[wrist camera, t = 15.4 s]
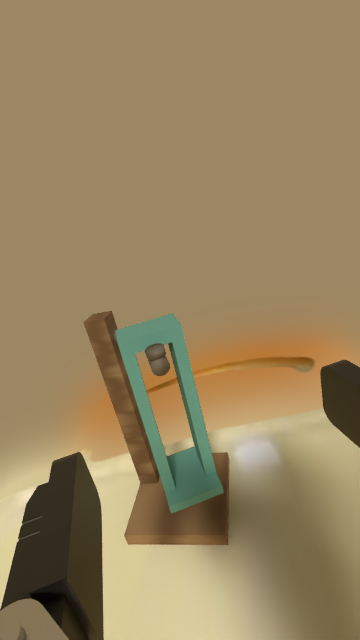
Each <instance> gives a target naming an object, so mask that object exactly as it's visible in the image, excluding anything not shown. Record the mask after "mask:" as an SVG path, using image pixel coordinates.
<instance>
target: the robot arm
mask: <svg viewBox="0 0 360 640" xmlns="http://www.w3.org/2000/svg"><path fill="white" fill-rule="evenodd" d="M321 384H322V385H321V386H322V397H323V407H324V411H325V413H326V415H327V417H328V419H329V420H330V422H331V423H332V424H333V425H334V426H335V427H337V428H338V429H339V430H340V431H341V432H342V433H343V434H345V435H346V436H347V437H348V438H349V439H350V440H351V441H353V442H354V443H355V444H356V445H357V446H358V447H360V367H358V366H356V365H355V364H353V363H351V362H349V361H347V360H341V361H339V362H336V363H333V364H330V365H327V366H325V367H322V369H321ZM22 524H23V525H22V526H21V529H20V533H19V537H18V539H19V542H17V545H16V549H15V553H14V557H13V561H12V565H11V569H10V574H9V578H8V582H7V586H6V590H5V594H4V598H3V602H2V606H1V609H0V640H104V638H103V577H102V515H101V504H100V499H99V495H98V492H97V489H96V486H95V484H94V482H93V479H92V477H91V475H90V472H89V470H88V467H87V465H86V463H85V460H84V458H83V456H82V454H81V453H80V452H77V453H75V454H72V455H69V456H66V457H63V458H60V459H58V460H55V461H53V463H52V467H51V473H50V478H49V482H48V483H45V484H42V485H39V486H38V487H37V488H36V490H35V491H34V493H33V495H32V496H31V498H30V499H29V501H28V503H27V504H26V508H25V512H24V516H23V521H22Z"/></svg>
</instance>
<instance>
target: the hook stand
mask: <svg viewBox="0 0 360 640" xmlns="http://www.w3.org/2000/svg"><path fill="white" fill-rule="evenodd" d="M84 325H85V328H86V331H87V333H88V336H89V339H90V342H91V345H92V348H93V350H94V353H95V356H96V359H97V362H98V364H99V367H100V370H101V373H102V376H103V379H104V381H105V384H106V387H107V390H108V393H109V395H110V398H111V401H112V404H113V407H114V410H115V412H116V415H117V418H118V421H119V424H120V426H121V429H122V432H123V435H124V438H125V440H126V443H127V446H128V449H129V452H130V455H131V457H132V460H133V463H134V466H135V469H136V471H137V474H138V477H139V480H140V483H141V484H140V487H139V490H138V493H137V496H136V500H135V503H134V506H133V509H132V513H131V516H130V519H129V522H128V525H127V529H126V532H125V535H124V536H125V538H126V540H127V543H128V544H192V545H228V514H229V457H228V453H212V457H213V461H214V465H215V469H216V473H217V476H218V478H219V480H220V482H221V484H222V487H223V491H224V493H222V494H219V495H217V496H214V497H212V498H209V499H207V500H204V501H202V502H199V503H197V504H194V505H192V506H189V507H187V508H184V509H182V510H179V511H177V512H174V513H172V514H171V512H170V509H169V505H168V501H167V497H166V493H165V490H164V487H163V484H162V481H161V478H160V475H159V471H158V468H157V465H156V462H155V459H154V456H153V453H152V449H151V446H150V443H149V440H148V437H147V434H146V431H145V428H144V424H143V421H142V418H141V415H140V412H139V409H138V406H137V403H136V399H135V396H134V393H133V390H132V387H131V384H130V381H129V378H128V374H127V371H126V368H125V365H124V362H123V359H122V356H121V353H120V349H119V346H118V343H117V338H116V332H115V330H118V329H117V326H116V323H115V320H114V317H113V314H112V311H109V312H103V313H97V314H92V315H91V316H90V317H89V318H88V319H87V320H86V321H85V322H84ZM145 353H146V355H147V358H148V361H149V364H150V366H151V369H152V372H153V373H154V374H155V375H157V376H162V375H165V374H166V373H167V372H168V371H169V369H170V364H169V362H168V360H167V358H166V356H165V355H166V352H165V349H164V345H163V344H161V343H156V344H152V345H150V346H148V347H147V348H146V350H145ZM166 457H168V456H166Z"/></svg>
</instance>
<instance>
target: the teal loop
mask: <svg viewBox="0 0 360 640" xmlns="http://www.w3.org/2000/svg"><path fill="white" fill-rule="evenodd" d="M115 332H116V338H117V343H118V346H119V349H120V353H121V356H122V359H123V362H124V365H125V368H126V371H127V374H128V378H129V381H130V384H131V387H132V390H133V393H134V396H135V399H136V403H137V406H138V409H139V412H140V415H141V418H142V421H143V424H144V428H145V431H146V434H147V437H148V440H149V443H150V446H151V449H152V453H153V456H154V459H155V462H156V465H157V468H158V471H159V475H160V478H161V481H162V484H163V487H164V490H165V493H166V497H167V501H168V505H169V509H170V512H171V514H172V513H174V512H177V511H179V510H182V509H184V508H187V507H189V506H192V505H194V504H197V503H199V502H202V501H204V500H207V499H209V498H212V497H214V496H217V495H219V494H222V493H224V491H223V487H222V484H221V482H220V480H219V478H218V476H217V473H216V469H215V465H214V461H213V457H212V452H211V448H210V444H209V440H208V436H207V431H206V427H205V423H204V419H203V415H202V411H201V406H200V402H199V398H198V394H197V389H196V385H195V381H194V377H193V373H192V369H191V365H190V360H189V356H188V352H187V348H186V344H185V339H184V335H183V331H182V327H181V324H180V322H179V321H178V320H177V318H176V317H175V316H174V315H173V314H169V315H166V316H162V317H159V318H155V319H152V320H149V321H145V322H142V323H139V324H135V325H132V326H128V327H125V328H122V329H118V330H115ZM156 343H161V344H163V345H164V344H167V343H168V344H169V348H170V352H171V356H172V359H173V364H174V367H175V371H176V375H177V379H178V383H179V387H180V391H181V394H182V398H183V402H184V406H185V410H186V414H187V418H188V422H189V425H190V429H191V433H192V437H193V441H194V445H195V447H192V448H189V449H187V450H184V451H181V452H178V453H176V454H173V455H170V456H168V457H166V454H165V451H164V448H163V444H162V441H161V438H160V434H159V431H158V428H157V424H156V421H155V418H154V415H153V411H152V408H151V405H150V401H149V398H148V395H147V391H146V388H145V385H144V382H143V378H142V375H141V372H140V369H139V365H138V362H137V359H136V355H135V353H138V352H142V351H145V350H146V348H147V347H148V346H150V345H152V344H156Z"/></svg>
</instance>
